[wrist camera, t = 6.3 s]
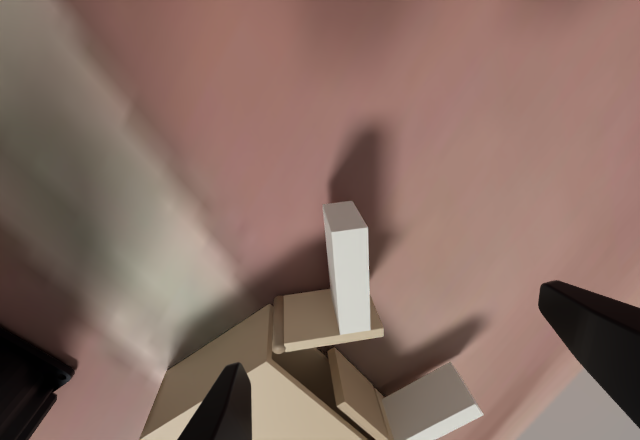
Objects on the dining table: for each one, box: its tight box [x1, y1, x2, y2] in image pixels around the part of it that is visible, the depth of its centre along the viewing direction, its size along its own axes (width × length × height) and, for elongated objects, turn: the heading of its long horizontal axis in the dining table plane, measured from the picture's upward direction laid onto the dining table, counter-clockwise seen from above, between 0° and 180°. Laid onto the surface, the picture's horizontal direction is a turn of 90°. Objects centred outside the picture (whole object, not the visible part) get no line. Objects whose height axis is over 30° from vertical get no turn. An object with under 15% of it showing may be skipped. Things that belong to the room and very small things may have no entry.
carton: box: [139, 304, 389, 440], centre depth 21 cm, size 17×10×4 cm, turn 35°
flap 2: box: [374, 362, 484, 440], centre depth 22 cm, size 6×7×4 cm
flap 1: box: [272, 201, 384, 354], centre depth 16 cm, size 6×7×4 cm
